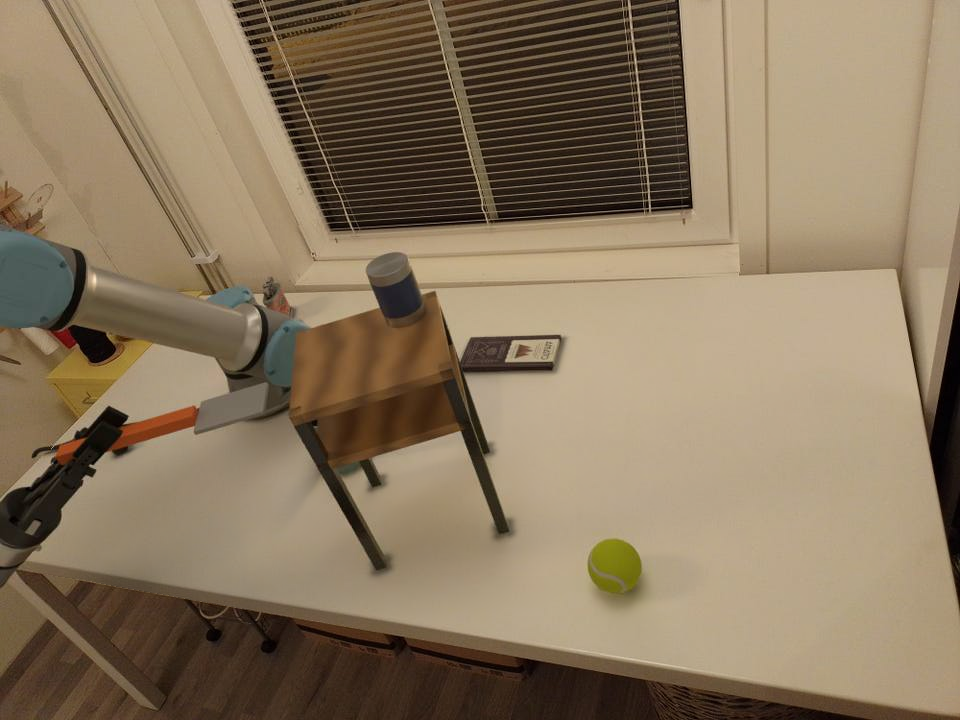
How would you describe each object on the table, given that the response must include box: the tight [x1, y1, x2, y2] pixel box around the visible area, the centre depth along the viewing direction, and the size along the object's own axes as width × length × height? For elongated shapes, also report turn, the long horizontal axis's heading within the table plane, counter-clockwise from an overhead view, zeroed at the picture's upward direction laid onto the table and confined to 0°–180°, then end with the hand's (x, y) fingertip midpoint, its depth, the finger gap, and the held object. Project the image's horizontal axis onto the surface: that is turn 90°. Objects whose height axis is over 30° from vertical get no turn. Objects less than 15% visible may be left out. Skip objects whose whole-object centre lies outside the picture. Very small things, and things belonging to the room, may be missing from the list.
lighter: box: [261, 276, 294, 318], centre depth 160 cm, size 8×3×10 cm, turn 179°
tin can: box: [365, 251, 426, 328], centre depth 91 cm, size 6×6×8 cm
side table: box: [288, 290, 510, 571], centre depth 99 cm, size 20×18×31 cm
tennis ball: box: [587, 538, 643, 594], centre depth 88 cm, size 7×7×7 cm
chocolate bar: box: [459, 334, 562, 372], centre depth 131 cm, size 9×1×18 cm
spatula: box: [54, 382, 269, 465], centre depth 89 cm, size 27×6×2 cm, turn 99°
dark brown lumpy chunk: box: [111, 426, 129, 456], centre depth 139 cm, size 5×7×3 cm, turn 25°
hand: (114, 420), depth 87 cm, fingers closed on spatula, 2 cm apart
